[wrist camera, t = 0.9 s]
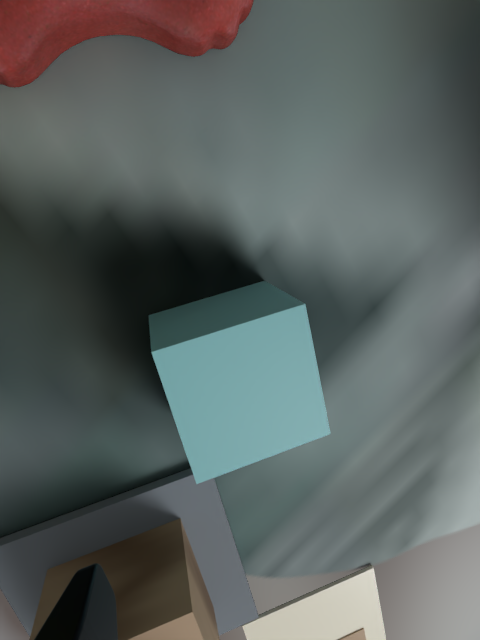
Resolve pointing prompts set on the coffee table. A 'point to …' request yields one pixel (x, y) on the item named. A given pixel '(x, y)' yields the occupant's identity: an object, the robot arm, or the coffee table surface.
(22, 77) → the stacking bear
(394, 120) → the coffee table surface
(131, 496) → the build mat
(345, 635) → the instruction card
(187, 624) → the walnut brick
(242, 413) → the teal brick
